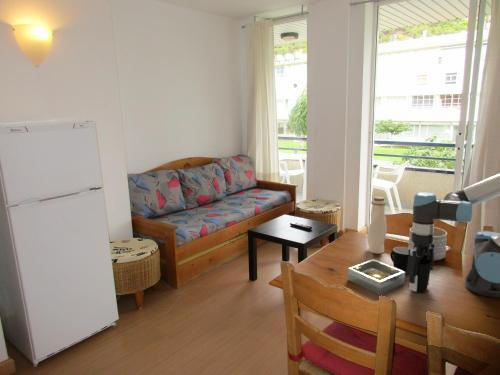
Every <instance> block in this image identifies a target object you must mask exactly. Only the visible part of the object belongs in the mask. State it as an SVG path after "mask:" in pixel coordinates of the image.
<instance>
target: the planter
mask: <svg viewBox="0 0 500 375" xmlns="http://www.w3.org/2000/svg"><path fill="white" fill-rule="evenodd" d="M412 232H413V231H412V227H410V228H409V232H408V235H409V236H408V247H407V248H411V249H413V247H414V243H413V242H412ZM432 234H433V243H432V244H434V262H436V261H439V260H442V259H444V258H446V251H447V240H448V239H447V238H448V232H447V231H446V230H444V229H443V228H440V227H436V226H434V233H432ZM416 256H417V255H416ZM418 257H420V256H418Z"/></svg>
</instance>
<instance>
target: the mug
mask: <svg viewBox="0 0 500 375" xmlns="http://www.w3.org/2000/svg"><path fill="white" fill-rule="evenodd" d="M409 249H410V250H412V249H411V248H408V247H407V246H396V247H394V248H393V249H392V250H391V252H390V255H389V256H390V260H391V261H392V264H393V267H394V268H397V269H399V270H402V271H405V276H407V275H408V274H406V270H407V263H408V256H409V253H408V251H409ZM408 276H409V275H408Z"/></svg>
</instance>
